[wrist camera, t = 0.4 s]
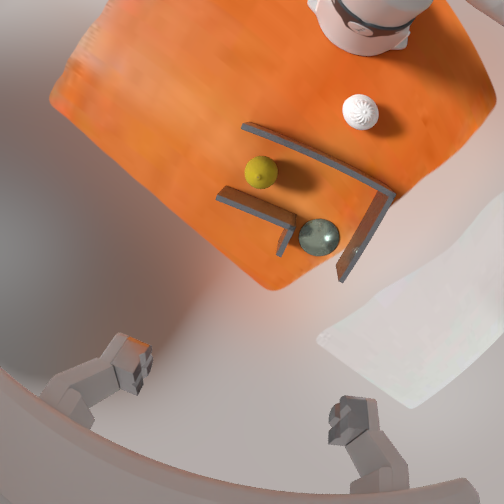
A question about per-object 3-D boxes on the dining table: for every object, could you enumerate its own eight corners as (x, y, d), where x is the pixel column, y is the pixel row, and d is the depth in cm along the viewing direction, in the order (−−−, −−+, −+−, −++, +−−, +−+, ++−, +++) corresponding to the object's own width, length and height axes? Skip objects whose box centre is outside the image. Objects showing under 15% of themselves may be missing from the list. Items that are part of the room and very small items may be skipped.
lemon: (285, 165, 49) (283, 175, 42) (266, 187, 51) (261, 201, 44) (261, 146, 48) (254, 153, 41) (243, 169, 50) (233, 180, 43)
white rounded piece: (334, 118, 43) (339, 120, 37) (347, 89, 40) (354, 86, 34) (365, 134, 43) (375, 138, 37) (378, 105, 40) (390, 105, 34)
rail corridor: (249, 121, 46) (242, 123, 41) (386, 184, 47) (396, 194, 41) (215, 214, 55) (206, 226, 50) (339, 266, 56) (343, 283, 51)
